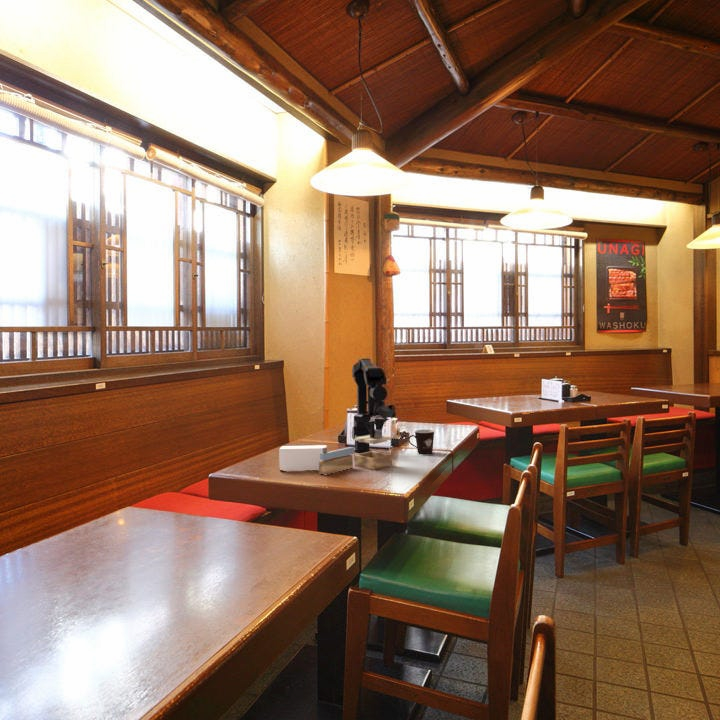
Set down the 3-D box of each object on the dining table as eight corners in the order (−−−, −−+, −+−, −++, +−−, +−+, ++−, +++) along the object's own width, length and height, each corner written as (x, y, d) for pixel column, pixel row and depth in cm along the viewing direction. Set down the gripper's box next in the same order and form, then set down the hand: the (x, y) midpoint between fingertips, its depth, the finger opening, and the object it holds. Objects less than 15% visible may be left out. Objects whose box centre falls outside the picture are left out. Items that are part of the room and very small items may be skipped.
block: (320, 459, 216) (319, 448, 216) (351, 452, 227) (350, 441, 226) (323, 460, 214) (323, 448, 214) (354, 453, 225) (354, 442, 225)
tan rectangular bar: (319, 474, 216) (318, 461, 216) (348, 467, 226) (347, 454, 226) (323, 475, 214) (323, 462, 214) (352, 468, 224) (352, 455, 224)
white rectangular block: (328, 468, 227) (327, 445, 226) (326, 471, 221) (325, 448, 221) (280, 468, 228) (279, 446, 228) (277, 472, 223) (276, 448, 222)
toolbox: (354, 465, 229) (354, 455, 228) (372, 461, 235) (371, 450, 235) (374, 470, 220) (374, 459, 220) (392, 465, 226) (392, 454, 226)
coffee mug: (434, 451, 252) (434, 429, 251) (435, 455, 243) (434, 432, 243) (408, 451, 253) (408, 429, 252) (408, 455, 244) (407, 433, 244)
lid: (354, 441, 228) (354, 429, 228) (371, 438, 234) (370, 426, 234) (374, 444, 219) (373, 432, 219) (391, 441, 226) (390, 429, 226)
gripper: (371, 402, 213) (373, 442, 213) (405, 397, 225) (406, 435, 226) (352, 400, 221) (353, 439, 221) (385, 395, 233) (386, 432, 234)
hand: (375, 436), depth 225 cm, fingers closed on lid, 3 cm apart
